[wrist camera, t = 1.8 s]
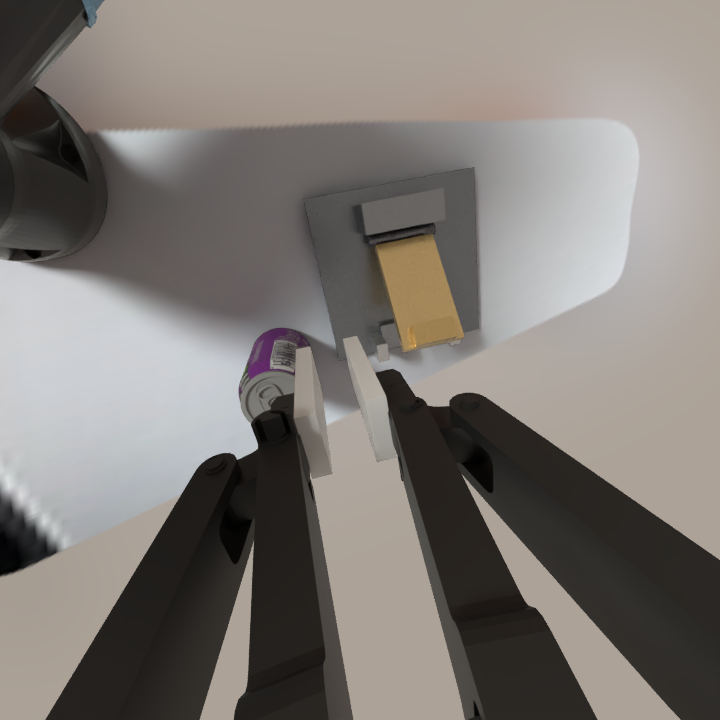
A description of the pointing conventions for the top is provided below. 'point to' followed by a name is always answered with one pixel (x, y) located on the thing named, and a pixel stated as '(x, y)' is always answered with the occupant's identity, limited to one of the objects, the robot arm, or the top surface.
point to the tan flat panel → (416, 287)
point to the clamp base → (359, 262)
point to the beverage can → (269, 370)
